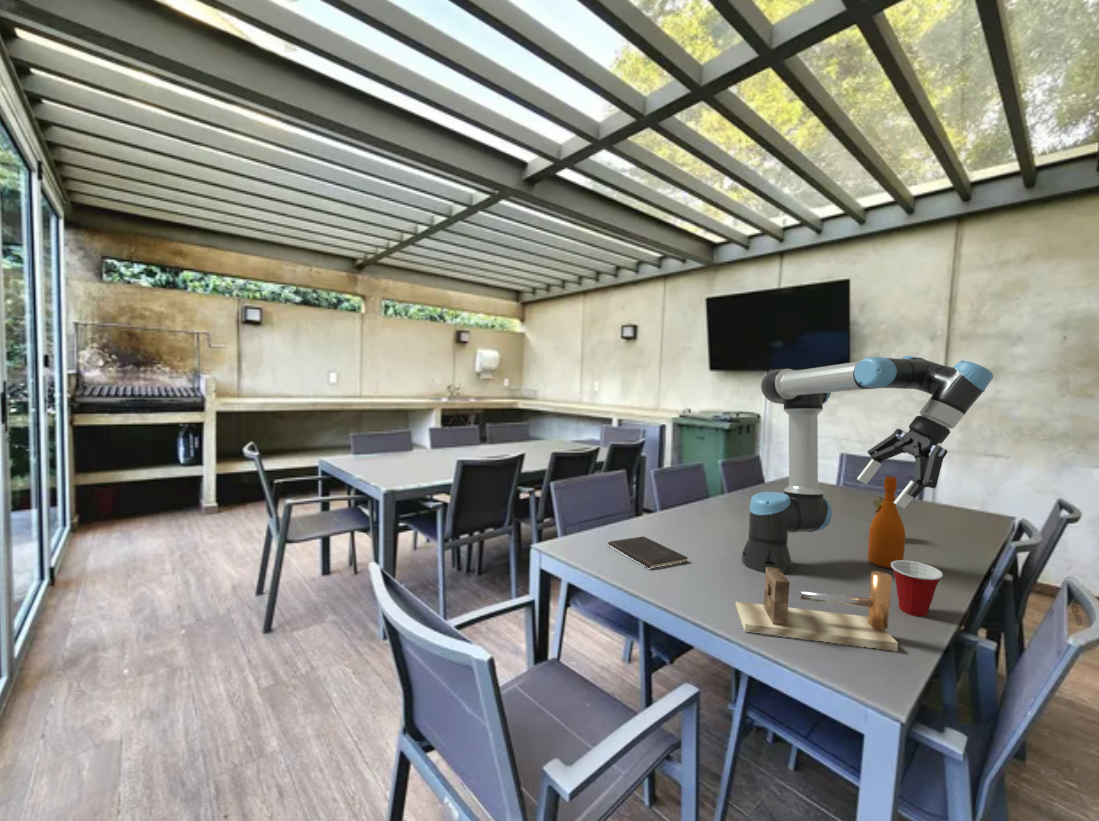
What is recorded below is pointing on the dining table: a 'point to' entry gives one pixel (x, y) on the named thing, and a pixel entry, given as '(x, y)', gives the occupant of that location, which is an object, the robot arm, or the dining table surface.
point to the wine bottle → (887, 530)
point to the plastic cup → (915, 586)
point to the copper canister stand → (807, 619)
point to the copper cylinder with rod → (863, 599)
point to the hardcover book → (647, 551)
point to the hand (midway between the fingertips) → (879, 493)
